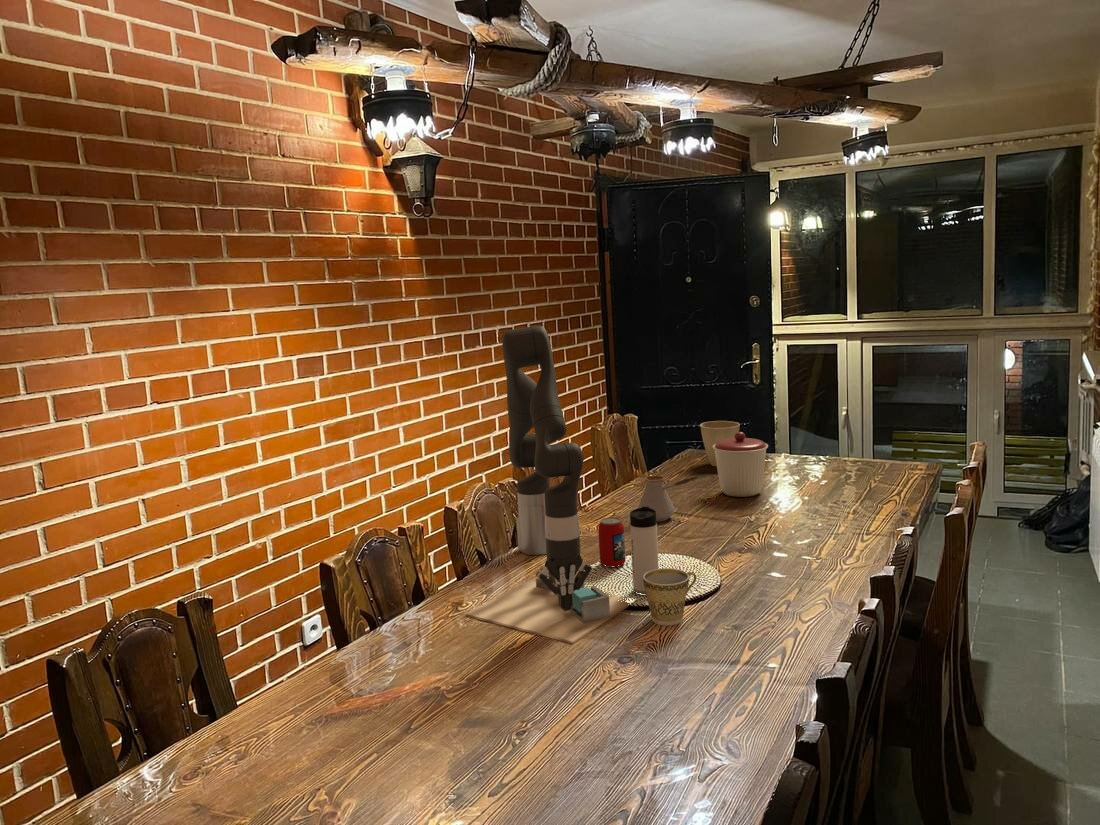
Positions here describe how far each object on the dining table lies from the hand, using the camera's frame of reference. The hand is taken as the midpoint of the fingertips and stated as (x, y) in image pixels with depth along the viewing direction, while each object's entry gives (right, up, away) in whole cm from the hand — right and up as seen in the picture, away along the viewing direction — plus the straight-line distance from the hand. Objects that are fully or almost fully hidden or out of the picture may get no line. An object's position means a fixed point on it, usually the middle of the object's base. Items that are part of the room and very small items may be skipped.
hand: (566, 609), depth 181 cm
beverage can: (+13, +3, +34) cm, 37 cm away
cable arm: (0, +1, +11) cm, 11 cm away
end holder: (+5, -2, +2) cm, 6 cm away
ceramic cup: (+23, -2, -2) cm, 24 cm away
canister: (+61, +16, +95) cm, 114 cm away
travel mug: (+20, +1, +15) cm, 25 cm away
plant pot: (+63, +23, +137) cm, 153 cm away
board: (-3, -2, +8) cm, 9 cm away
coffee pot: (+33, +10, +70) cm, 78 cm away
